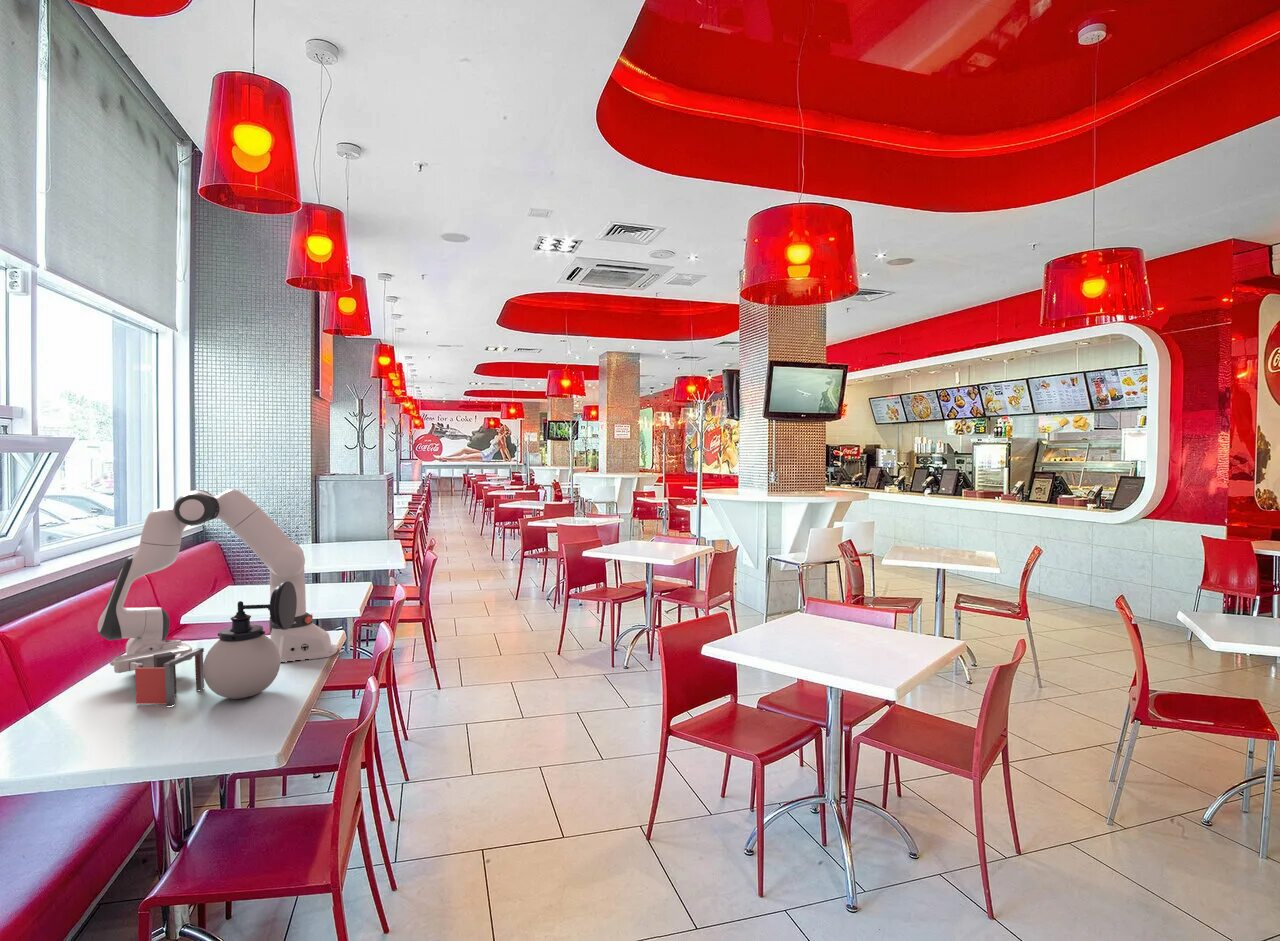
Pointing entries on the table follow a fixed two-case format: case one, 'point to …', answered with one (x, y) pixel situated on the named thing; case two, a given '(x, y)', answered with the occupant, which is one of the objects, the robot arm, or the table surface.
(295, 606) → the light fixture
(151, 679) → the red square panel
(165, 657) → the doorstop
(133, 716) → the table surface
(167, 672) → the frame
